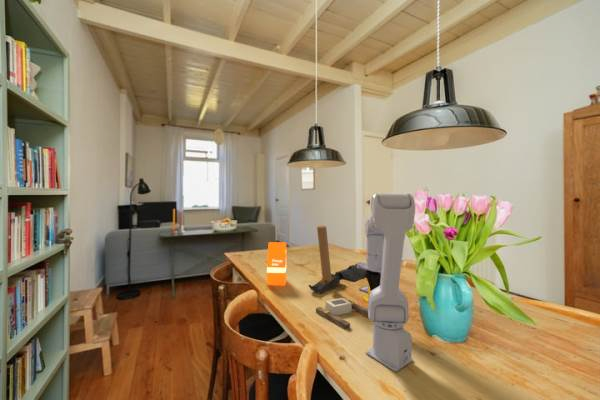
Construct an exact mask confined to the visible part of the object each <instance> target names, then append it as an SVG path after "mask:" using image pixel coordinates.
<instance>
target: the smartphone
mask: <svg viewBox="0 0 600 400" xmlns="http://www.w3.org/2000/svg"><path fill="white" fill-rule="evenodd" d="M368 286H369V285H365V286H362V287H360V288H358V289H359V291H360V292H363V293H366V294H369V293H368Z"/></svg>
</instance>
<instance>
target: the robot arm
mask: <svg viewBox="0 0 600 400" xmlns="http://www.w3.org/2000/svg"><path fill="white" fill-rule="evenodd" d="M370 211H371V212H370V213H371V215H370V216H371V217H370V218H367V219H366V220H365V224H364V234H365V236H366V255H365V257H366V261H365V262H362V261H359V262H356V264H357V268H361V269H365V270H367V271H366V272H365V273H364V275H365V276H366V278H365V279H366V280H367V284H368V286H369V287H370V294H369V293H368V295H369V296H368V300H367V309H368V319H369V320H370V322H372V323H373V325H372V326H373V327H372V347H371V348H369V349H367V350H365V353H366V354H367V355H369V356H370V357H372V358H373V359H375V360H376V361H377V362H379V363H381V364H382V365H384V366H386V367H388V368H389V369H391V370H392V371H393V372H398V371H399V370H401V369H403V368H404V367H405V366H406V365H409V364H410V363H412V362H413V361H414V358H413V357H412V355H413V354H412V349H413V348H412V347H413V346H412V345H413V344H412V343H413V341H412V339H413V336H412V334H411V333H410V331H408V330H406V329H405V328H404V325H406V324H407V323H408V322H409V320H410V319H409V318H410V312H409V301H408V298H407V296H406V294H405V293H404V292H403V290H401V289H399V287H400V280H401V270H402V264H403V263H402V261H403V252H404V243H405V239H406V234H407V232H409V231H411V230H412V229H413V227H414V224H415V223H414V222H415V215H416V214H415V213H416V202H415V198H414V196H413V195H412V194H411V193H407V194H404V193H401V194H400V193H399V194H398V193H395V194H394V193H390V194H389V193H375V192H374V194H373V195H371V203H370Z"/></svg>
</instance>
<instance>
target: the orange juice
mask: <svg viewBox="0 0 600 400" xmlns="http://www.w3.org/2000/svg"><path fill="white" fill-rule="evenodd" d="M286 283H287V242H286V241H285V242H283V241H281V242H279V241H278V242H275V241H270V242H269V241H268V247H267V254H266V285H267V286H286Z"/></svg>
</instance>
